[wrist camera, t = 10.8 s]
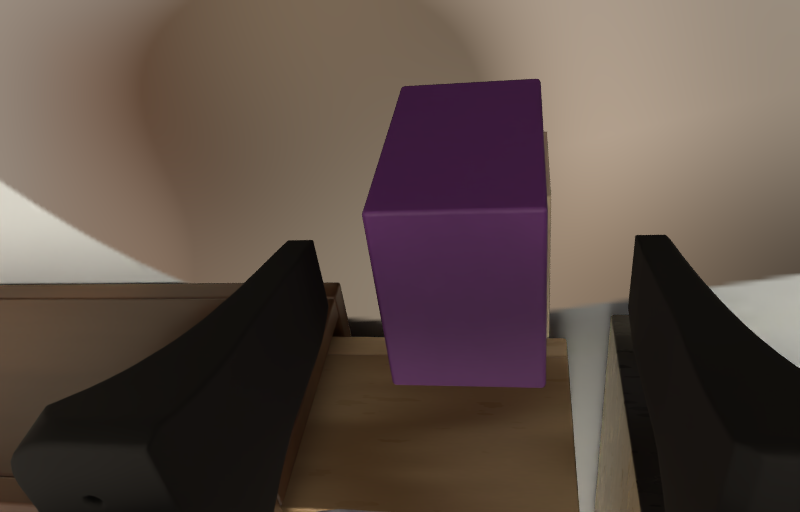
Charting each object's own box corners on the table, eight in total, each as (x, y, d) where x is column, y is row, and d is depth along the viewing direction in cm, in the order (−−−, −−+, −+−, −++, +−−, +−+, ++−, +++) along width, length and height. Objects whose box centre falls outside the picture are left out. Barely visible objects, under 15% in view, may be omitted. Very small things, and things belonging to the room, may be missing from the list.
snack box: (543, 236, 21) (550, 390, 16) (420, 238, 21) (392, 386, 17) (544, 76, 18) (553, 208, 13) (401, 84, 18) (360, 213, 14)
